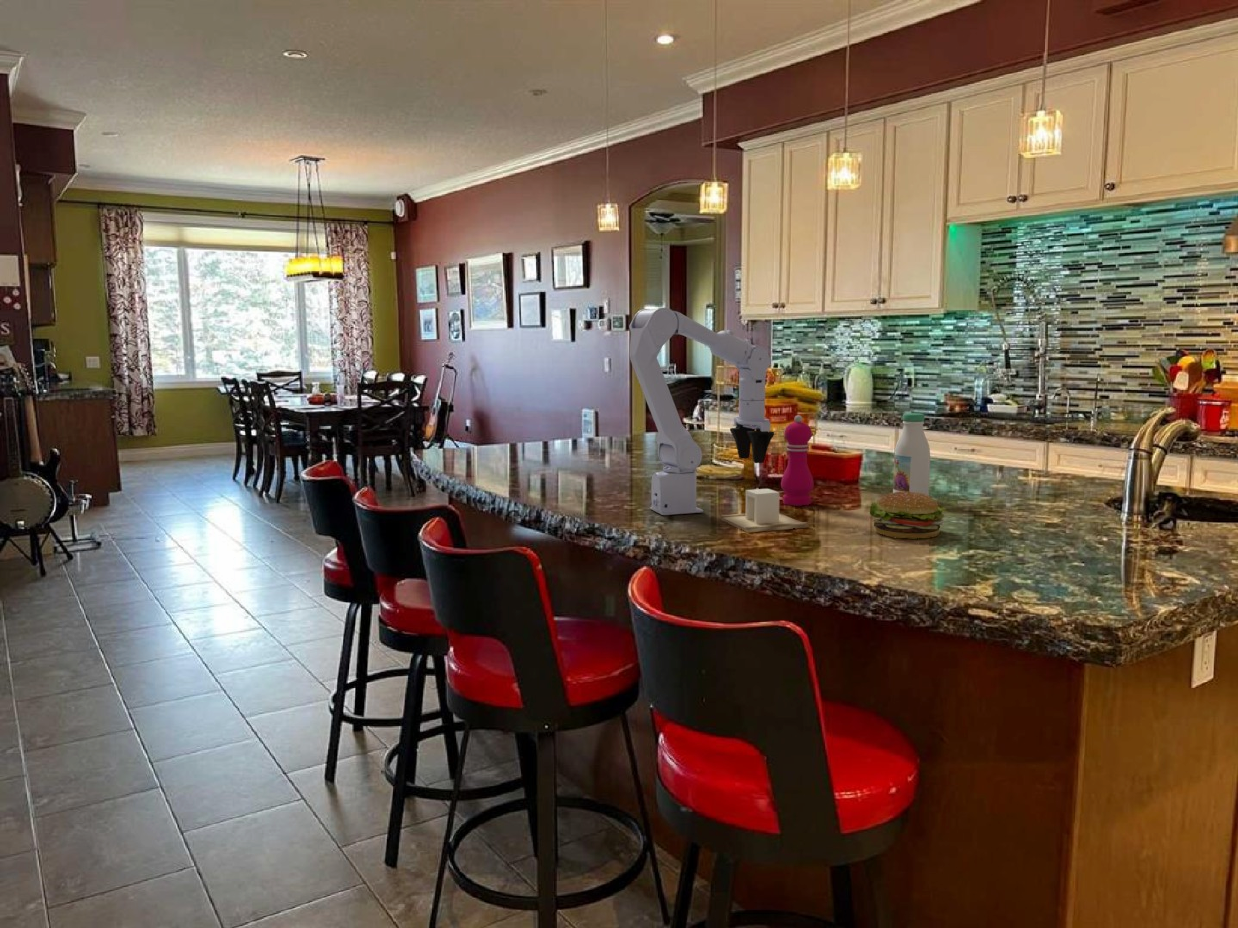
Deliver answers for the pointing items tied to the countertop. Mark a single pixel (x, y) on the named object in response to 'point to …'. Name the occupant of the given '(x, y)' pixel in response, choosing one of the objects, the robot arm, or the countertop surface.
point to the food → (907, 515)
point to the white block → (762, 506)
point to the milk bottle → (912, 457)
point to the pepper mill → (797, 465)
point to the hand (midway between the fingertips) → (751, 460)
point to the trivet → (750, 526)
